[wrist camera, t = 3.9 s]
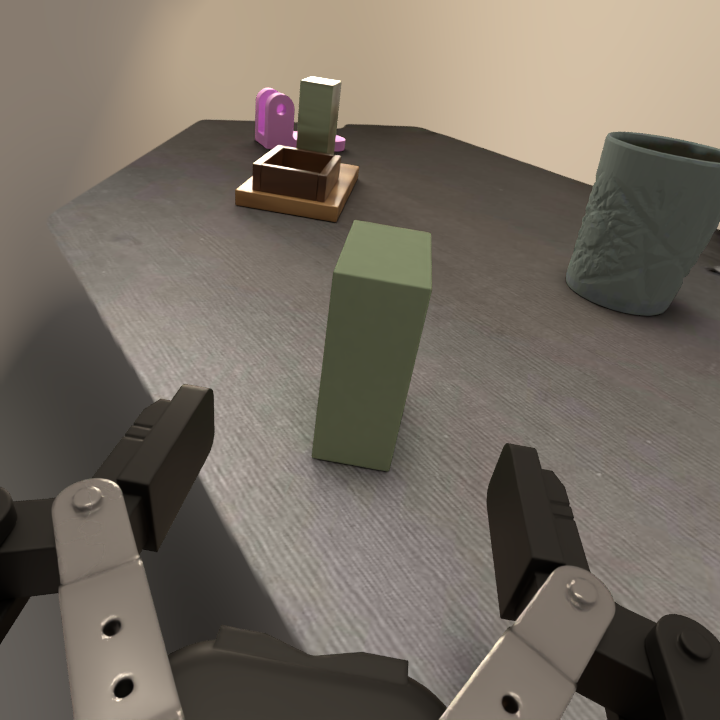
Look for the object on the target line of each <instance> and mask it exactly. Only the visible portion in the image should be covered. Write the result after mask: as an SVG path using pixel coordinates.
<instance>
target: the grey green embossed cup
mask: <svg viewBox="0 0 720 720" xmlns="http://www.w3.org/2000/svg"><path fill="white" fill-rule="evenodd" d="M582 222H583V224H582V227H581V229H580V230H579V234H578V235H579V237H578V239H577V241H576V245H575V248H574V252H573V255H572V257H571V261H570V264H569V267H568V270H567V273H566V282H567V284H568V285H569V287H570V288H571V289H572V290H573V291H575V292H576V293H577V294H579V295H580V296H582V297H584V298H586V299H587V300H589V301H591V302H594V303H596V304H598V305H601V306H603V307H606V308H609V309H612V310H616V311H620V312H624V313H629V314H635V315H646V316H652V315H658V314H660V313H664V311H665V310H666V309H667V308H668V307H669V306H670V304H671V302H672V301H673V299H674V297H675V296H676V294H677V292H678V291H679V289H680V288H681V285H682V283H683V278H684V277H686V276H687V275H688V274H689V272H690V269H691V268H692V267H693V266H694V265H695V264H696V262H697V260H698V258H699V255H700V254H701V253H702V252H703V250H704V249H705V247H706V246H707V244H708V242H709V241H710V238H711V236H712V233H714V231H715V230H716V229H717V227H718V224H719V222H720V149H717V148H714V147H710V146H706V145H702V144H698V143H694V142H689V141H684V140H680V139H674V138H669V137H663V136H657V135H650V134H643V133H633V132H612V133H609V134H608V135H607V137H606V139H605V143H604V147H603V151H602V155H601V158H600V162H599V166H598V169H597V173H596V182H595V183H594V185H593V190H592V192H591V194H590V197H589V202H588V204H587V207H586V215H585V216H584V217H583V220H582Z"/></svg>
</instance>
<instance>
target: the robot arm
mask: <svg viewBox="0 0 720 720" xmlns="http://www.w3.org/2000/svg"><path fill="white" fill-rule="evenodd" d="M214 430H215V429H214V394H213V390H212V389H210V388H205V387H199V386H194V385H188V384H183V385H182V386H181V387H180V389H179V390H178V392H177V393H176V394H175V396H174V397H173V399H172V400H171V401H170V400H165V399H160V400H158V401H156V402H155V403H153V404H152V405H150V406H149V407H147V408H145V409H144V410H143V411H142V413H141V414H140V415H139V417H138V418H137V419H136V421H135V422H134V425H133V426H131V427H130V428H129V430H128V431H127V433H126V434H125V437H123V438H122V439H121V440H120V442H119V443H118V444H117V446H116V447H115V448H114V450H113V451H112V452H111V453H110V455H109V456H108V458H107V459H106V460H105V461H104V463H103V464H102V465H101V467H100V468H99V469H98V471H97V472H96V473H95V474H94V476H93V477H92V478H91V479H86V480H82V481H79V482H77V483H75V484H73V485H70V486H69V487H67V488H66V489H64V490H63V491H62V492H61V493H60V494H59V495H58V496H57V497H56V498H49V499H39V500H26V501H12V498H11V496H10V493H9V492H8V491H7V490H6V489H4V488H2V487H0V644H1V642H2V641H3V639H4V638H5V636H6V634H7V633H8V631H9V629H10V628H11V626H12V625H13V623H14V622H15V620H16V619H17V617H18V616H19V614H20V612H21V611H22V609H23V608H24V606H25V605H26V603H27V601H28V600H29V598H30V597H31V596H38V595H46V594H54V593H59V602H60V610H61V619H62V627H63V635H64V642H65V651H66V659H67V668H68V676H69V684H70V692H71V700H72V708H73V716H74V720H560V718H561V717H562V715H563V713H564V711H565V709H566V708H567V706H568V704H569V702H570V700H571V699H572V697H573V695H574V693H575V692H577V693H579V694H581V695H583V696H584V697H586V698H588V699H590V700H592V701H594V702H596V703H597V704H599V705H601V706H603V707H605V710H606V715H607V720H720V642H719V641H718V639H717V638H716V637H715V636H714V635H713V634H712V633H711V632H710V631H709V630H707V629H706V628H705V627H704V626H702V625H701V624H699V623H698V622H696V621H694V620H692V619H690V618H688V617H685V616H682V615H677V614H669V615H665V616H663V617H662V618H661V619H660V620H659V621H658V622H657V623H655V622H653V621H651V620H649V619H647V618H645V617H643V616H641V615H638V614H636V613H634V612H632V611H630V610H628V609H626V608H624V607H622V606H620V605H619V604H617V603H616V602H614V599H613V597H612V595H611V593H610V591H609V590H608V588H607V587H606V586H605V584H604V583H603V582H602V581H601V580H600V579H599V578H597V577H596V576H595V575H593V574H592V573H591V572H590V570H589V566H588V563H587V560H586V556H585V553H584V550H583V546H582V543H581V539H580V536H579V533H578V529H577V526H576V523H575V521H574V520H573V518H574V516H573V513H572V509H571V507H569V504H570V503H569V499H568V496H567V493H566V489H565V487H564V485H563V484H562V483H561V481H560V480H559V479H558V477H557V476H556V475H555V474H554V472H553V471H550V470H545V469H541V465H540V461H539V457H538V453H537V451H536V449H535V448H531V447H526V446H520V445H515V444H509V443H506V444H505V445H504V447H503V449H502V452H501V455H500V457H499V460H498V462H497V465H496V467H495V470H494V472H493V475H492V477H491V480H490V483H489V486H488V491H487V512H488V520H489V528H490V536H491V544H492V553H493V561H494V569H495V577H496V585H497V593H498V602H499V610H500V618H501V619H507V620H512V621H516V622H515V623H514V624H513V626H512V627H509V628H508V629H507V630H506V631H505V632H504V634H503V635H502V636H501V638H500V639H499V640H498V642H497V643H496V644H495V646H494V647H493V648H492V650H491V651H490V652H489V654H488V655H487V656H486V658H485V659H484V660H483V662H482V663H481V664H480V666H479V667H478V668H477V670H476V671H475V672H474V674H473V675H472V676H471V678H470V679H469V680H468V682H467V683H466V684H465V686H464V687H463V688H462V690H461V691H460V692H459V694H458V695H457V696H456V698H455V699H454V700H453V702H452V703H451V704H450V706H449V707H448V708H447V707H446V706H445V705H444V704H443V703H442V702H441V701H440V700H439V699H438V697H437V696H436V695H434V694H433V693H432V692H431V691H430V690H429V689H427V688H426V687H425V686H423V685H422V684H420V683H419V682H417V681H416V680H414V679H412V678H410V677H408V661H407V660H401V659H396V658H391V657H386V656H381V655H375V654H370V653H365V652H356V653H343V654H331V655H319V656H313V655H309V654H307V653H305V652H303V651H301V650H298V649H296V648H294V647H292V646H290V645H288V644H286V643H284V642H282V641H280V640H278V639H276V638H274V637H272V636H270V635H268V634H265V633H260V632H255V631H250V630H244V629H239V628H234V627H229V626H223V625H221V627H220V629H219V632H218V635H217V638H216V640H208V641H203V642H198V643H195V644H192V645H189V646H186V647H183V648H181V649H179V650H177V651H175V652H173V653H171V654H169V655H167V652H166V648H165V644H164V641H163V637H162V633H161V629H160V626H159V622H158V618H157V615H156V611H155V607H154V603H153V600H152V596H151V592H150V588H149V585H148V581H147V577H146V573H145V570H144V566H143V563H142V560H141V558H140V557H139V555H140V553H141V551H142V549H144V550H149V551H154V552H158V550H159V548H160V546H161V544H162V542H163V540H164V539H165V537H166V535H167V533H168V531H169V529H170V527H171V525H172V523H173V521H174V519H175V518H176V516H177V514H178V512H179V510H180V508H181V506H182V504H183V502H184V500H185V498H186V497H187V495H188V493H189V491H190V489H191V487H192V485H193V483H194V481H195V480H196V478H197V476H198V474H199V472H200V470H201V468H202V466H203V464H204V462H205V461H206V459H207V457H208V455H209V453H210V450H211V447H212V444H213V440H214Z"/></svg>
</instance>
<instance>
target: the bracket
mask: <svg viewBox="0 0 720 720" xmlns="http://www.w3.org/2000/svg"><path fill="white" fill-rule="evenodd" d="M293 127H294V104H293V102H292V100H291V99H290V98H289V97H288V96H286V95H284V94H282V93H279V92H278V91H276V90H274V89H272V88H264V89H262V90H261V91H260V92H259V93H258V95H257V97H256V115H255V140H256V141H257V142H259V143H260V144H261V145H263V146H264V147H265V148H266V149H273V148H275V147H276V146H278V145H281V146H286V147H292V148H296V144H297V132H294V131H293ZM344 147H345V139H344V138H343V137H340V136H337V135H336V139H335V149H334V151H343V150H344Z"/></svg>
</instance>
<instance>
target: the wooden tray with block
mask: <svg viewBox="0 0 720 720" xmlns="http://www.w3.org/2000/svg"><path fill="white" fill-rule="evenodd" d="M340 91H341V81H337V80H331V79H325V78H319V77H314V76H311V77H308V78H306V79H303V80H301V83H300V98H299V113H298V129H297V144H296V148H292V147H286V146H281V145H278V146H276V147H275V148H273V149H272V150H271V151H269V152H268V153H267V154H265V155H264V156H263V157H261V158H260V159H259V160H257V161H256V162H255V163H253V176H252V177H251V178H250V179H248V180H247V181H246V182H245V183H243V184H242V185H241V186H240V187H238V188H237V189H236V190H235V204H236V205H239V206H245V207H250V208H256V209H262V210H268V211H274V212H279V213H285V214H291V215H297V216H302V217H308V218H314V219H320V220H326V221H331V222H336V221H337V219H338V217H339V215H340V213H341V211H342V209H343V207H344V205H345V203H346V201H347V199H348V197H349V195H350V193H351V191H352V189H353V187H354V185H355V183H356V181H357V179H358V172H359V166H353V165H348V164H342V163H341V156H339V155H334V149H335V139H336V130H337V119H338V110H339V100H340Z"/></svg>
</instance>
